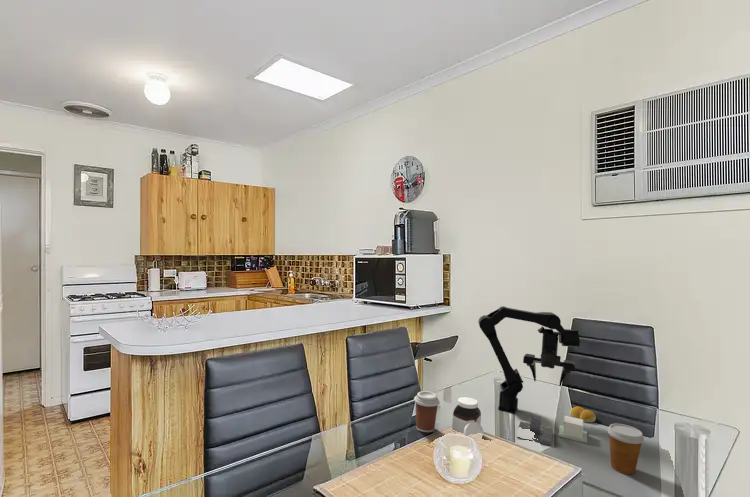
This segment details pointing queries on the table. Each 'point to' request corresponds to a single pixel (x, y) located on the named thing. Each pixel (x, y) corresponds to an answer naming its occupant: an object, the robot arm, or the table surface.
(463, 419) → the spread jar
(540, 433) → the post stand
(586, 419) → the bread roll
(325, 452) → the table surface
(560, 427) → the pad
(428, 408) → the coffee cup
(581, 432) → the beige block
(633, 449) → the disposable coffee cup
